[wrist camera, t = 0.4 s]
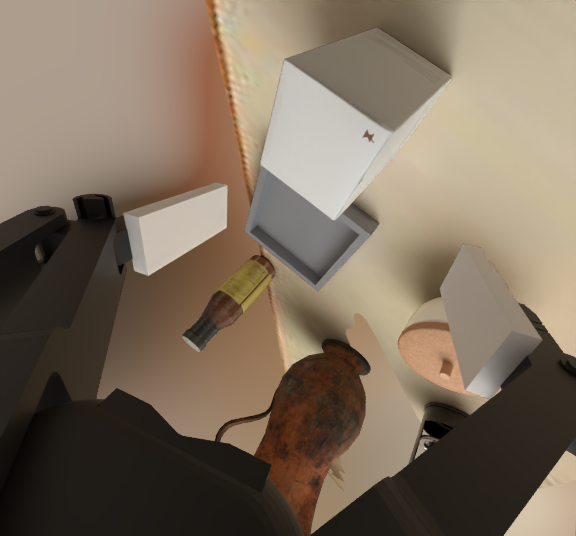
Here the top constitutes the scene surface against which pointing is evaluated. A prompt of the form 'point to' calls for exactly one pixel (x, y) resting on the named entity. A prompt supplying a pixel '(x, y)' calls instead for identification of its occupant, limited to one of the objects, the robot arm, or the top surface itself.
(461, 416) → the french press
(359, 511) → the robot arm
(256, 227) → the tray
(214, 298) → the sauce bottle
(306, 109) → the supplement box
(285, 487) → the pitcher
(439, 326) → the lidded jar
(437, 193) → the top surface
